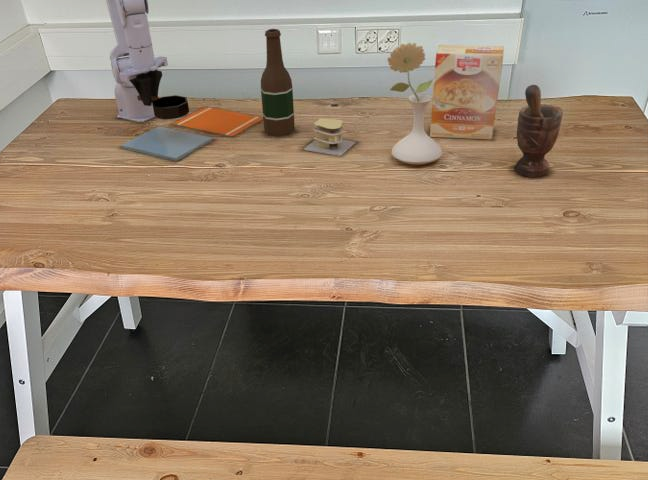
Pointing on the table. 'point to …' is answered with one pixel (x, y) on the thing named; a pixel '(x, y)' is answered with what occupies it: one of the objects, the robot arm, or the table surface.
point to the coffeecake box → (465, 91)
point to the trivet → (166, 143)
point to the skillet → (169, 106)
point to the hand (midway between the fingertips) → (150, 103)
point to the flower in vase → (416, 143)
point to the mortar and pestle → (536, 133)
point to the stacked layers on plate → (329, 138)
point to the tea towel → (218, 121)
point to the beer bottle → (276, 90)
